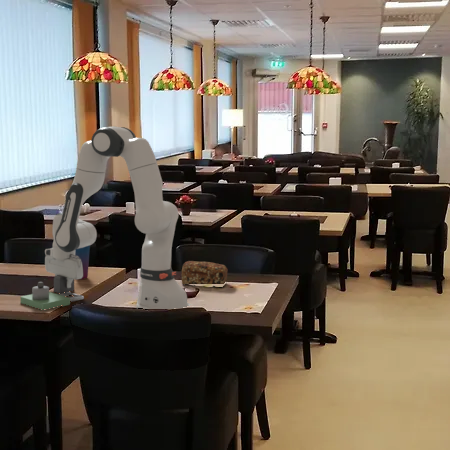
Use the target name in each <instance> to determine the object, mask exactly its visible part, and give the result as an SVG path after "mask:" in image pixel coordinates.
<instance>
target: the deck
mask: <svg viewBox="0 0 450 450" xmlns="http://www.w3.org/2000/svg"><path fill="white" fill-rule="evenodd" d="M31 291H32V292H31V294H27V295H26V294H25V295H21V296H20V304H22V305H25V304H26V305H25V306H28V305H29V306H28V307H31V306H32V308H33V307H35V308H34V309H36V308H39V309H42V310H44V309H49V308H53V307H57V306H61V305H63V306H62V307H65V306H70V305H71V302H70V298H69V296H68V297H65V296H61V295H58V293H55V292H51V291H50V286H47V285H44V282H43V281H38V282H37V286H33V287H32V290H31ZM57 308H58V307H57ZM39 309H38V310H39ZM53 309H54V308H53ZM42 310H41V311H42ZM49 310H50V309H49ZM44 311H45V310H44Z"/></svg>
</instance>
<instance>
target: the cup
mask: <svg viewBox="0 0 450 450" xmlns="http://www.w3.org/2000/svg"><path fill="white" fill-rule="evenodd" d="M90 249H91V245H89V246H86V247H83V248H79V249H76V250H75V256H79V258H80V259H81V262H82V267H83V277H82V278H81V279H80V280H85V279H84V278H87V277H88V276H89V262H90ZM79 258H78V259H79ZM88 278H89V277H88ZM88 278H87V279H88Z"/></svg>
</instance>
